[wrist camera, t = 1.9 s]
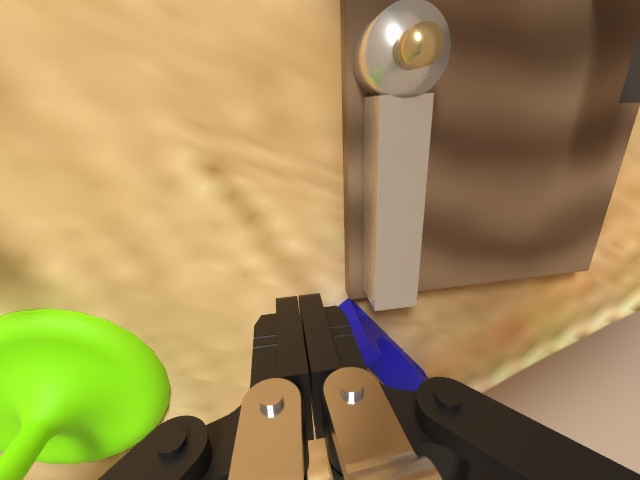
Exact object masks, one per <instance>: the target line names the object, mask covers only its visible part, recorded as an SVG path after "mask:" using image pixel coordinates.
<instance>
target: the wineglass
mask: <svg viewBox="0 0 640 480" xmlns="http://www.w3.org/2000/svg"><path fill="white" fill-rule="evenodd" d="M169 395H170V385H169V381H168V378H167V374H166V371H165V368H164V367H163V365H162V364H161V362H160V361H159V359H158V358H157V356H156V355H155V353H154V352H153V350H151V349H150V348H149V347H148V346H147V345H146V344H144V343H143V342H142V341H141V340H140V339H139V338H137V337H136V336H135V335H134V334H132V333H130V332H128V331H127V330H125V329H123V328H121V327H119V326H117V325H115V324H113V323H111V322H110V321H107V320H104V319H100V318H97V317H94V316H90V315H87V314H84V313H80V312H74V311H64V310H54V309H38V310H28V311H18V312H12V313H9V314H6V315H3V316H0V451H1V452H4V453H3V454H2V456H1V457H0V480H23V478H24V477H25V475H26V474H27V472H28V471H29V469H30V468H31V466H32V465H33V463H34V462H35V461H37V462H43V463H49V464H77V463H84V462H90V461H97V460H102V459H104V458H107V457H110V456H113V455H116V454H119V453H122V452H124V451H126V450H127V449H129V448H131V447H132V446H134V445H136V444H137V443H139V442H140V441H141V440H142V439H144V438H145V437H146V436H147V435H148V434H149V433H150V432H151V431H152V430H154V428H155V427H156V426H157V425H158V424H159V423H160V422H161V420H162V418H163V416H164V414H165V412H166V409H167V407H168V405H169Z"/></svg>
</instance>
